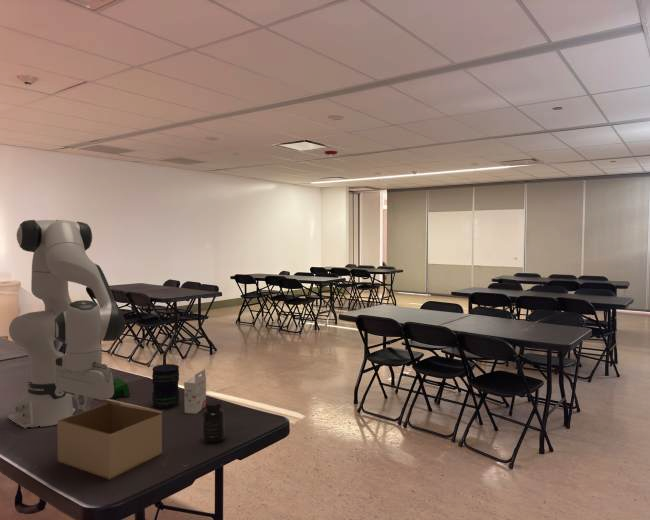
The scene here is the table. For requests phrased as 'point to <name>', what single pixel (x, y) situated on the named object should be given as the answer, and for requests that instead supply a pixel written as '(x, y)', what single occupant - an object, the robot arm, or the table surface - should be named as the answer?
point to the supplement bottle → (213, 422)
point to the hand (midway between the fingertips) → (84, 410)
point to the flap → (122, 404)
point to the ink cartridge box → (195, 393)
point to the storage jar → (165, 386)
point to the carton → (109, 439)
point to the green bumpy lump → (120, 388)
